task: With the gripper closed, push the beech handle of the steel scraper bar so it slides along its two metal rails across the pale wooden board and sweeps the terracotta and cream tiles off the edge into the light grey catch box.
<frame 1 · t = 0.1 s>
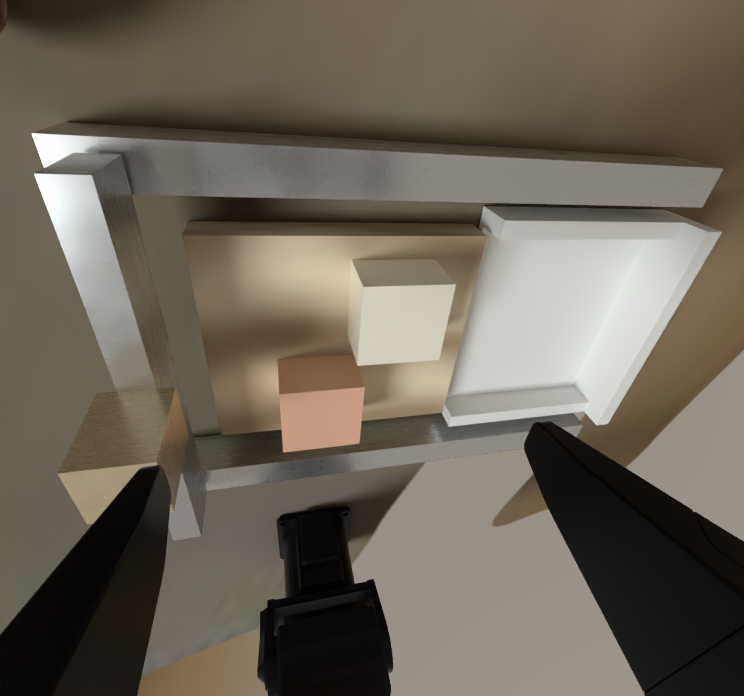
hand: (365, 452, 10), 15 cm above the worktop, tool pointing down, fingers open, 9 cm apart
rails: (399, 323, 26), on the worktop
terracotta tile: (316, 385, 25), point 2 cm above the worktop, touching board
catch box: (535, 316, 28), on the worktop
board: (337, 326, 25), on the worktop
cream tile: (389, 297, 22), point 2 cm above the worktop, touching board
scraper: (143, 422, 17), point 7 cm above the worktop, slide at 0.0 cm
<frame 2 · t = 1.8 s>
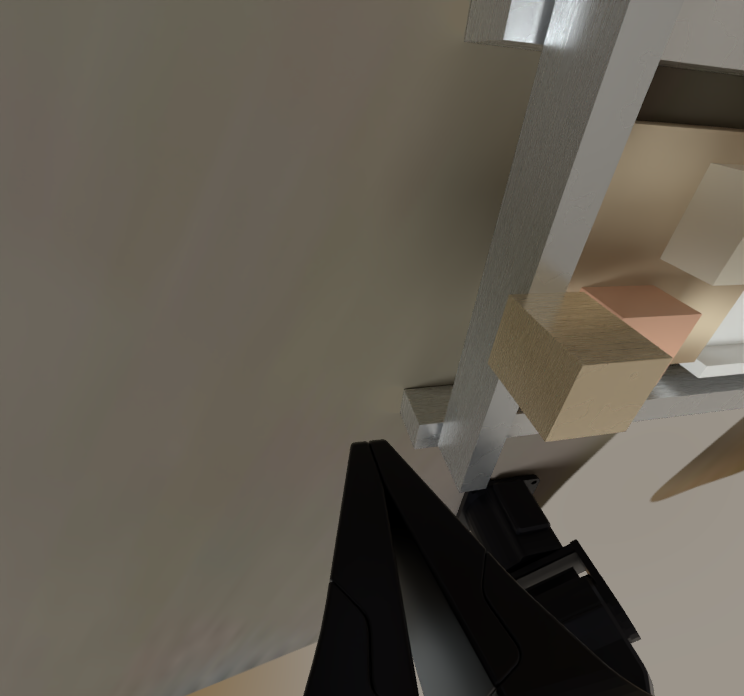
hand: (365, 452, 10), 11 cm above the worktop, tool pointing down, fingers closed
rails: (678, 256, 23), on the worktop
terracotta tile: (600, 323, 22), point 2 cm above the worktop, touching board
board: (621, 256, 22), on the worktop
cream tile: (720, 214, 19), point 2 cm above the worktop, touching board
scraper: (539, 334, 15), point 7 cm above the worktop, slide at 0.0 cm
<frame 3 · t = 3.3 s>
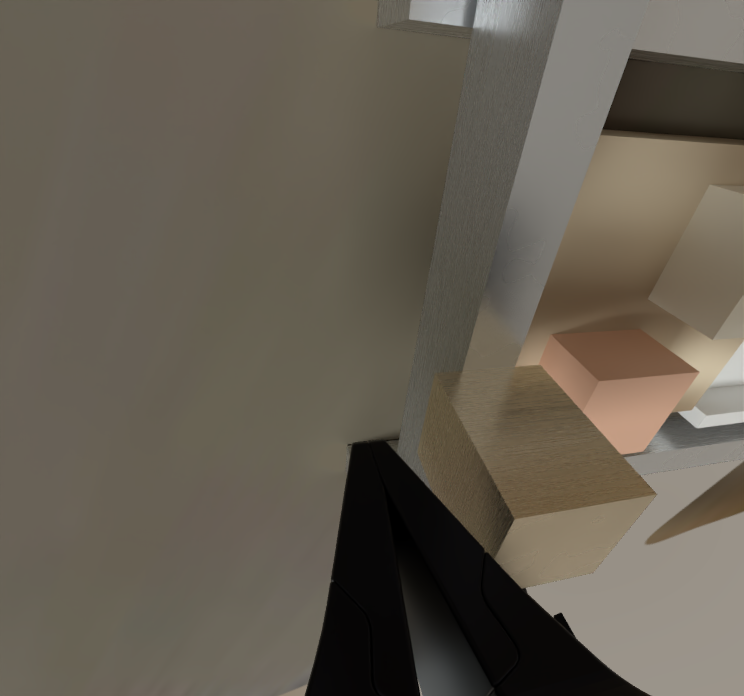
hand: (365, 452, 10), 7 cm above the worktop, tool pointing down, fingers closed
rails: (672, 290, 19), on the worktop
terracotta tile: (576, 373, 18), point 2 cm above the worktop, touching board
board: (602, 292, 18), on the worktop
cream tile: (722, 246, 16), point 2 cm above the worktop, touching board
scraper: (482, 421, 11), point 7 cm above the worktop, slide at 0.1 cm, touching gripper
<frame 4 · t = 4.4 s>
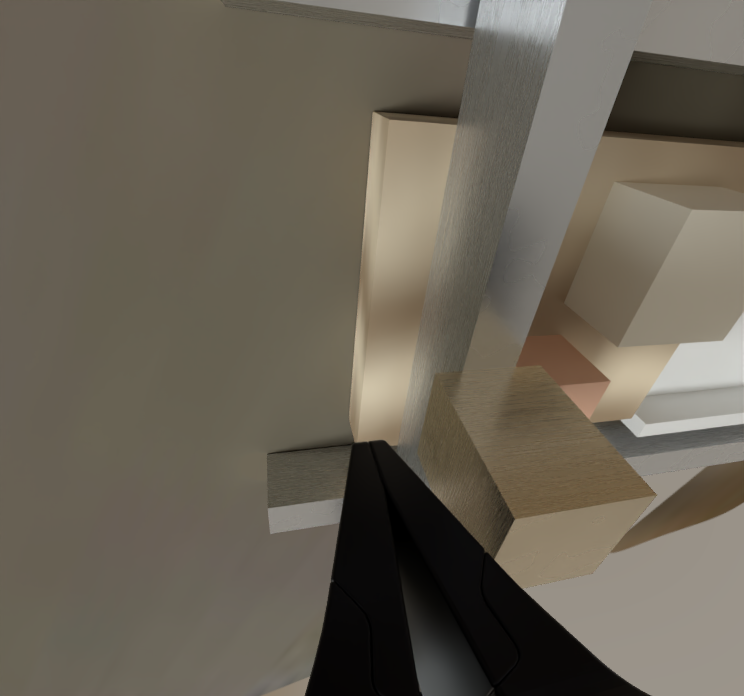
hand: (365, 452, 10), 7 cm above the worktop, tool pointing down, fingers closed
rails: (602, 294, 18), on the worktop
terracotta tile: (497, 380, 17), point 2 cm above the worktop, touching board
board: (525, 296, 18), on the worktop
cream tile: (638, 248, 15), point 2 cm above the worktop, touching board
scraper: (482, 421, 11), point 7 cm above the worktop, slide at 4.1 cm, touching gripper
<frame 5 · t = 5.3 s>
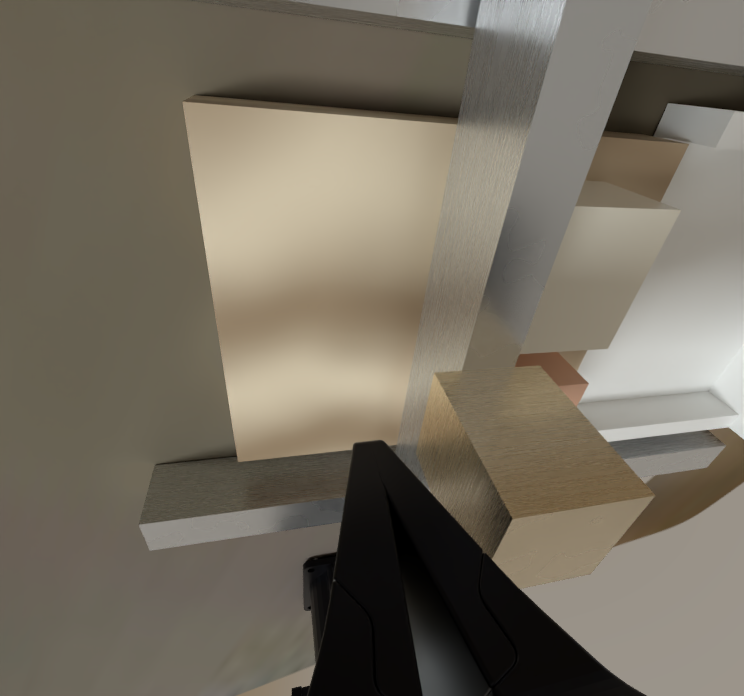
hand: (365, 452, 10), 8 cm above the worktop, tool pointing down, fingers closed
rails: (504, 296, 17), on the worktop
terracotta tile: (478, 381, 17), point 2 cm above the worktop, touching board, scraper
catch box: (687, 292, 20), on the worktop
board: (416, 298, 16), on the worktop
cream tile: (521, 247, 14), point 2 cm above the worktop
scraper: (480, 421, 11), point 7 cm above the worktop, slide at 9.2 cm, touching gripper, terracotta tile
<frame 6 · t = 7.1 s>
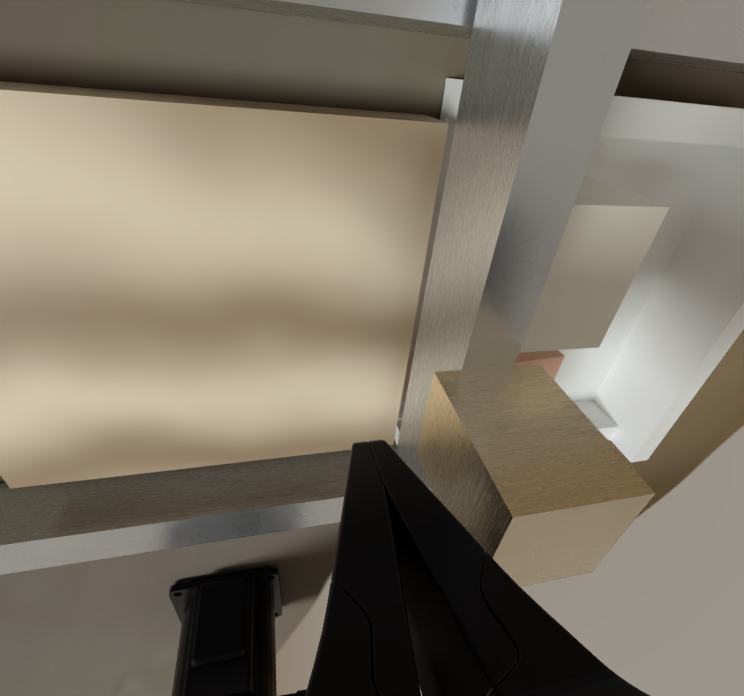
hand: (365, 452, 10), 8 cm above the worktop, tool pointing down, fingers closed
rails: (312, 301, 15), on the worktop
terracotta tile: (462, 362, 18), point 1 cm above the worktop, touching catch box
catch box: (540, 294, 18), on the worktop
board: (202, 304, 15), on the worktop
cream tile: (502, 255, 13), point 3 cm above the worktop, tilted 90°, touching catch box
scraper: (481, 420, 11), point 7 cm above the worktop, slide at 17.4 cm, touching gripper
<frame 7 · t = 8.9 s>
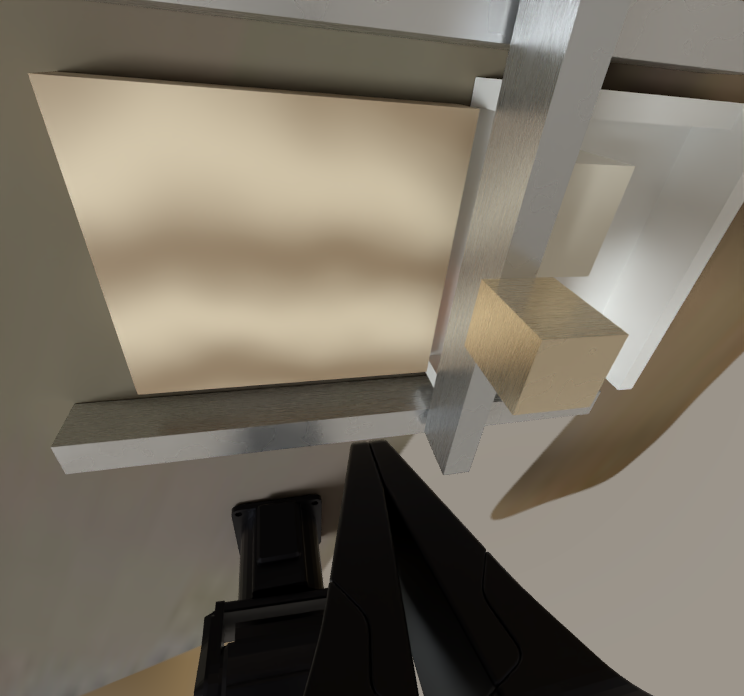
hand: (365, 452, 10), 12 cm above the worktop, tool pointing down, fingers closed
rails: (368, 250, 20), on the worktop
catch box: (543, 249, 22), on the worktop
board: (286, 251, 19), on the worktop
cream tile: (516, 207, 17), point 3 cm above the worktop, tilted 90°, touching catch box
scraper: (512, 317, 15), point 7 cm above the worktop, slide at 17.7 cm, touching terracotta tile
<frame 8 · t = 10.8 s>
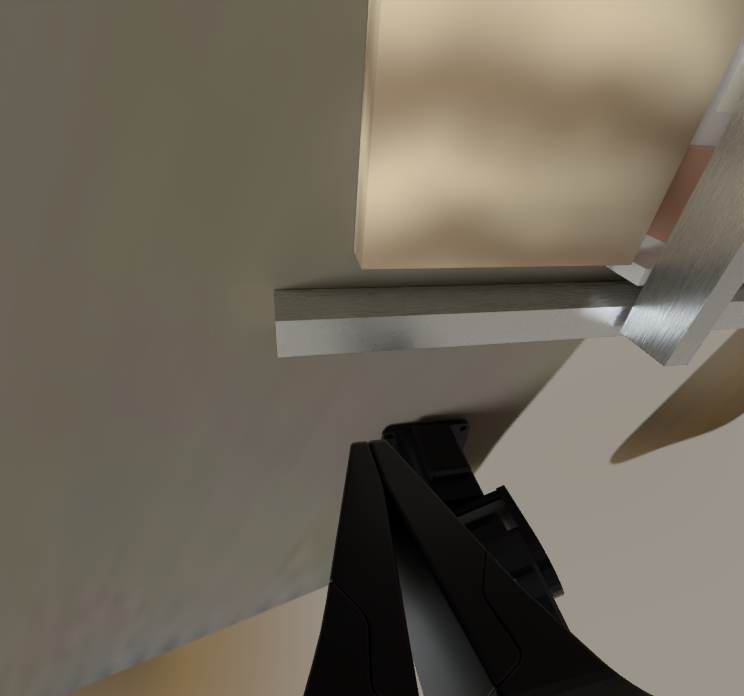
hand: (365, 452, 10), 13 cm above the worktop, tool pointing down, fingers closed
rails: (601, 119, 19), on the worktop
terracotta tile: (697, 192, 22), resting on catch box, touching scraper
board: (526, 113, 18), on the worktop
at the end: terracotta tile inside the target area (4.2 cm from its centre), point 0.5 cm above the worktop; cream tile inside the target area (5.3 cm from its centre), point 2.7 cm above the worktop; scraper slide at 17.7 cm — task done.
